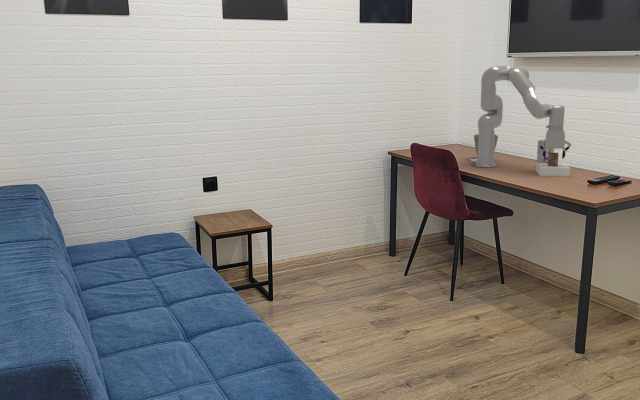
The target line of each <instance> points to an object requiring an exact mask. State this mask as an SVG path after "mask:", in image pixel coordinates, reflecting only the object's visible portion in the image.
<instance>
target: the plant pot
mask: <svg viewBox="0 0 640 400" xmlns="http://www.w3.org/2000/svg"><path fill="white" fill-rule="evenodd" d="M498 138H499V135H498V134H495V147H494V152H495V151H496V147H497V143H498ZM473 139H474V146H475V151H476V154H477V157H478V142H479V133H478V134H474V135H473Z"/></svg>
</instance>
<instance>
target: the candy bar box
mask: <svg viewBox="0 0 640 400" xmlns="http://www.w3.org/2000/svg"><path fill="white" fill-rule="evenodd" d="M545 139H546V138H545ZM545 139H540V140H537V152H536V153H537V155H536V163H548V154H549V153H555V148H547V149H546V150H545V151H546V155H545V158H544V156H543V150H542V149H541V148H540V146H539V144H538V143H539V142H542V141H544V140H545ZM541 145H542V147H543V148H544V147H545V143H543V144H541Z"/></svg>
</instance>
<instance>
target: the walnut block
mask: <svg viewBox="0 0 640 400" xmlns="http://www.w3.org/2000/svg"><path fill="white" fill-rule="evenodd" d="M558 163H559V152H554V153H549V154H548V166H555V167H558Z"/></svg>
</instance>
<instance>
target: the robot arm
mask: <svg viewBox="0 0 640 400" xmlns="http://www.w3.org/2000/svg"><path fill="white" fill-rule="evenodd" d="M529 77H530V72H529V71H528V69H527V68H525V67H521V66H509V65H495V66H491V67H489V68H487V69H486V70H484V72H483V74H482V75H481V81H480V83H481V86H480V87H481V88H480V89H481V90H480V109H481V110H482V111H483V112H487V113H484V114H483V115H481V116H480V117H479V118H478V120H477V129H478V134H479V142H478V156H477V158H470V160H469V162H470V163H475V164H474V166H475V167H478V168H495V167H497V163H495V161H494V160H495V151H494V147H495V135H496V133H495V129H497V128H499V127H500V126H501V124H502V121H503V112H504V111H503V110H504V107H503V106H504V105H503V99H502V98H501V96H500V95H497V86H496V82H497V81H508V82H510V83H511V84H512V86H514V88H515V89H516V90H517V92H518V93H519V94H520V96H521V98H522V101H523V104H524V106H525V108H526V109H527V110H528V112H529V113H530V115H532V117H534V118H535V119H538V120H541V119H545V118H549V119H548V125H546V126H545V128H546V129H547V131H546V134H545V140H544V141H542V142H539V143H538V142H537V145H538V144H539V146H540V148H541V149H542V150H543V156H544V158H545V155H546V151H545V150H546V149H547V148H554V149H556V150H557V149H559V150H560V149H561V150H562V155H561V158H562V159H563V160H564V159H565V157H566V152H567V151H568V150H569V149H570V148H571V146H572V142H569V141H566V140H565V139H566V134H565V132H566V131H565V130H564V125H565V123H564V121H565V106H564V105H561V104H560V105H559V104H557V105H555V104H553V105H552V104H546V103H544V104H541V102H539V100H538V99H537V97H536V94H535V93H536V86H535V84H533V82H532V81H531V79H530V78H529ZM543 143H545V147H544V148H543V147H542V145H541V144H543ZM565 144H566V145H567V146H566V145H565ZM565 146H566V147H565ZM495 148H496V147H495Z"/></svg>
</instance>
